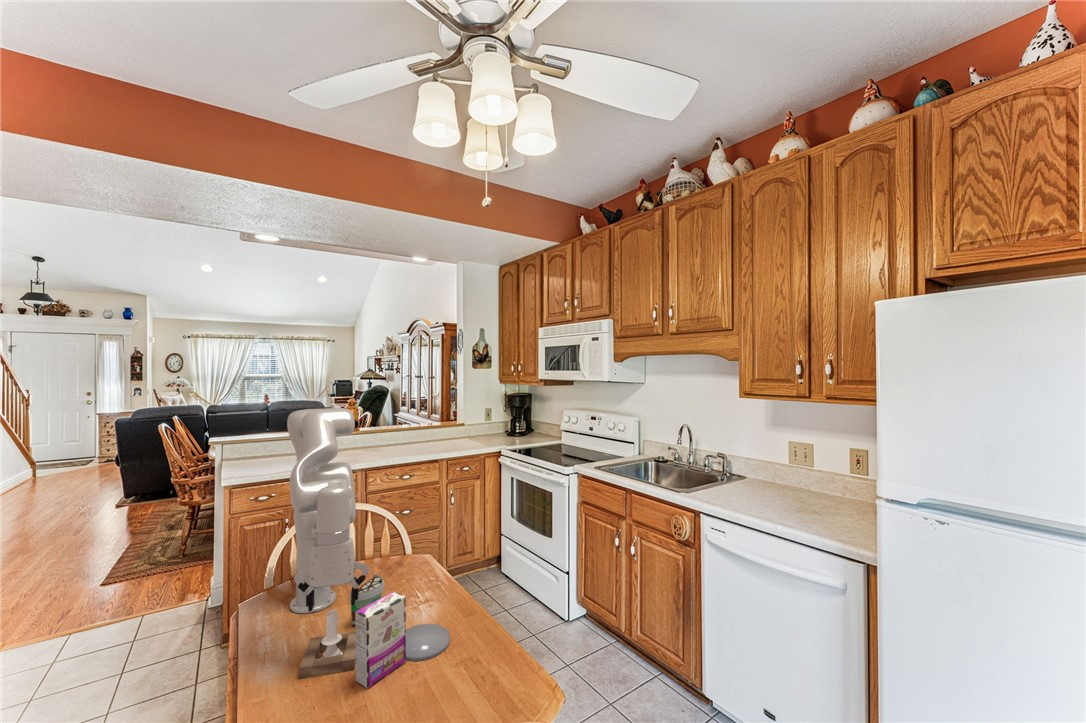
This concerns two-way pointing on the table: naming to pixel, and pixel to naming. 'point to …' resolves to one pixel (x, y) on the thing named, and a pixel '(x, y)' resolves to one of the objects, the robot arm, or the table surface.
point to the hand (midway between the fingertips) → (332, 605)
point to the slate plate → (426, 641)
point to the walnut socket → (331, 664)
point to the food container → (367, 595)
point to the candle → (331, 635)
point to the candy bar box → (380, 638)
